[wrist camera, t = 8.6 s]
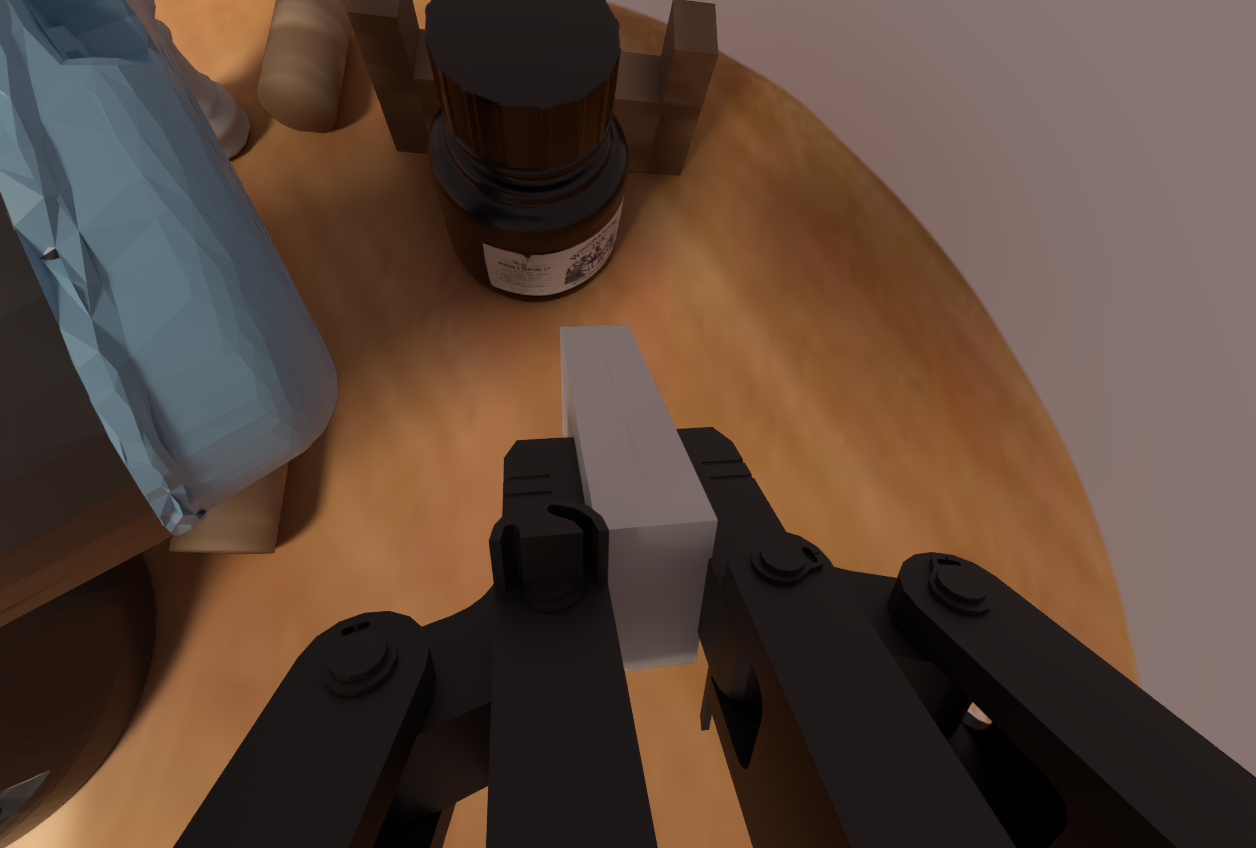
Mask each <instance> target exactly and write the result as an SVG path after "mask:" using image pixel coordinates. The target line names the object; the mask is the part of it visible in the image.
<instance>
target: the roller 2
mask: <svg viewBox="0 0 1256 848" xmlns="http://www.w3.org/2000/svg"><path fill="white" fill-rule="evenodd" d="M347 9H348V1H347V0H276V3H275V7H274V12H273V17H272V21H271V26H270V31H269V35H268V40H267V45H266V50H265V54H264V59H263V64H262V68H261V73H260V78H259V82H258V87H257V97H258V100H259V102H260V104H261V105H262V107H263V108H264V109H265V110H266V111H267V112H268V113H269V114H270V115H271V116H272V117H273V118H275V119H276V120H277V121H279V122H280V123H282V124H284V125H286V126H288V127H290V128H292V129H295V130H298V131H306V132H317V133H325V132H328V131H330V130H331V129H332V128H333V127H334V126H335V124H336V119H337V113H338V107H339V101H340V95H341V89H342V83H343V77H344V70H345V64H346V58H347V52H348V46H349V40H350V34H351V28H352V24H351V22H350V19H349V16H348V13H347Z"/></svg>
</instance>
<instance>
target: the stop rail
mask: <svg viewBox="0 0 1256 848" xmlns="http://www.w3.org/2000/svg"><path fill="white" fill-rule="evenodd" d="M347 13H348V16H349V19H350V22H351V24H352V27H353V30H354V33H355V35H356V38H357V41H358V44H359V47H360V49H361V52H362V55H363V58H364V61H365V63H366V66H367V69H368V72H369V74H370V77H371V80H372V83H373V86H374V88H375V91H376V94H377V97H378V99H379V102H380V105H381V108H382V111H383V113H384V116H385V119H386V122H387V125H388V127H389V130H390V133H391V136H392V138H393V141H394V144H395V147H396V150H397V151H403V152H414V153H426V154H428V151H427V142H428V134H429V129H430V126H431V123H432V120H433V118H434V116H435V114H436V112H437V110H438V108H439V107H440V103H439V99H438V95H437V91H436V86H435V82H434V78H433V73H432V69H431V65H430V61H429V56H428V52H427V48H426V44H425V39H424V33H425V29H419V25H418V21H417V17H416V13H415V9H414V5H413V0H349V3H348V9H347ZM716 29H717V28H716V11H715V4H710V3H703V2H695V1H686V0H673V2H672V7H671V12H670V17H669V21H668V26H667V31H666V36H665V40H664V45H663V50H662V55H661V56H655V55H646V54H637V53H629V52H621V54H620V62H619V69H618V77H617V85H616V93H615V100H614V108H613V113H614V114H615V116H616V118H617V119H618V121H619V123H620V125H621V127H622V130H623V132H624V135H625V138H626V141H627V146H628V152H629V170H628V171H635V172H646V173H658V174H669V175H680V174H681V171H682V168H683V164H684V161H685V158H686V155H687V152H688V149H689V145H690V142H691V139H692V136H693V133H694V129H695V126H696V123H697V120H698V117H699V114H700V110H701V107H702V104H703V101H704V98H705V95H706V91H707V88H708V85H709V82H710V79H711V76H712V72H713V69H714V66H715V63H716V60H717V57H718V44H717V30H716Z"/></svg>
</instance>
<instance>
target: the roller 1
mask: <svg viewBox="0 0 1256 848" xmlns="http://www.w3.org/2000/svg"><path fill="white" fill-rule="evenodd" d="M288 464H289V461H288V462H287V463H285V464H284V465H282V466H280V467H279V468H277V469H275V470H274V471H272V472H271V473H269V474H267V475H266V476H264V477H262V478H261V479H259V480H258V481H256V482H254V483H253V484H251V485H249V486H248V487H246V488H244V489H243V490H241V491H240V492H238V493H236V494H235V495H233V496H231V497H230V498H228V499H227V500H225V501H223V502H222V503H220V504H218V505H217V506H215V507H214V508H212V509H210V510H209V511H207V515H206V518H205V520H204V521H203V522H202V523H201V525H199V526H197V527H196V528H194V529H192V530H190V531H188V532H186V533H183V534H181V535H173V536H172V537H171V540H170V545H169V550H168V551H173V552H188V553H216V554H268V553H275V547H276V540H277V534H278V528H279V521H280V515H281V509H282V502H283V496H284V490H285V483H286V477H287V471H288Z"/></svg>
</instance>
